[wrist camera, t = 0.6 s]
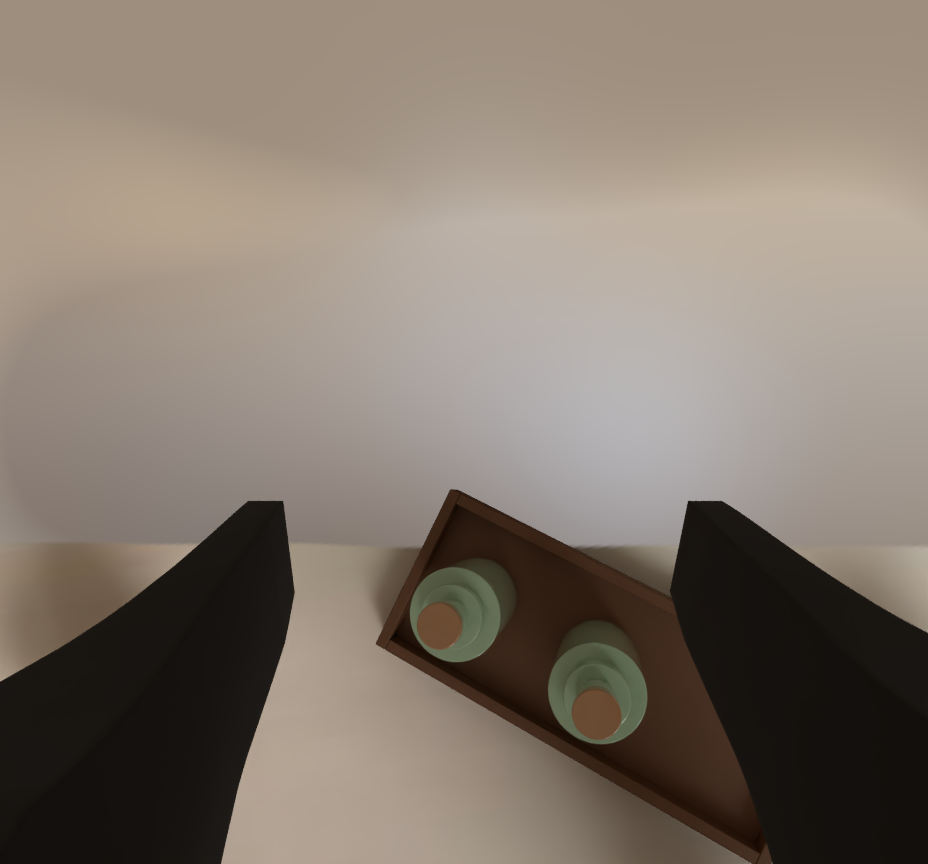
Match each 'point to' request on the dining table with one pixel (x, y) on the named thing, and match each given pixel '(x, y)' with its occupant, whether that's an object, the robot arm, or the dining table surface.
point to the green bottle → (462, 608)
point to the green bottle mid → (597, 683)
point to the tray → (532, 657)
